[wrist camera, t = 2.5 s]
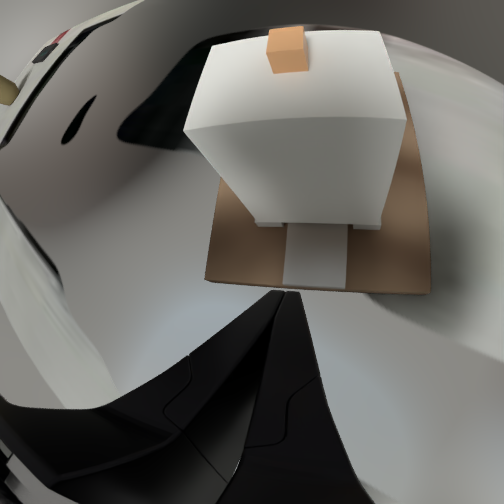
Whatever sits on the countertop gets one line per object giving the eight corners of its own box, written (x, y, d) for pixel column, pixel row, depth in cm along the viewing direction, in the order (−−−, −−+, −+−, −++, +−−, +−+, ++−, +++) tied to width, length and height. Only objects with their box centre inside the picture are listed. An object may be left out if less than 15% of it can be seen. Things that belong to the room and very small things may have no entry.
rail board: (425, 294, 15) (449, 284, 11) (212, 282, 19) (178, 269, 15) (397, 81, 19) (400, 44, 15) (245, 86, 24) (228, 53, 19)
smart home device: (40, 59, 58) (31, 62, 65) (43, 62, 59) (33, 64, 67) (57, 41, 58) (44, 46, 66) (59, 44, 60) (47, 49, 67)
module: (379, 229, 16) (418, 97, 6) (258, 226, 18) (163, 114, 8) (375, 157, 17) (383, 12, 7) (265, 158, 19) (198, 31, 9)
